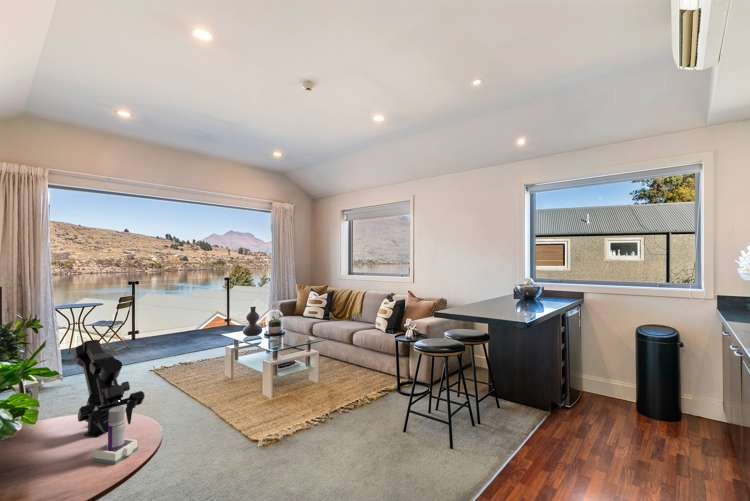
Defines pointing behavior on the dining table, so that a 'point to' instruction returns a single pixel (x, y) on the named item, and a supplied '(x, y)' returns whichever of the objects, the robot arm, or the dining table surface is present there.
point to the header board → (115, 457)
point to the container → (116, 428)
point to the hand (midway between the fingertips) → (117, 427)
